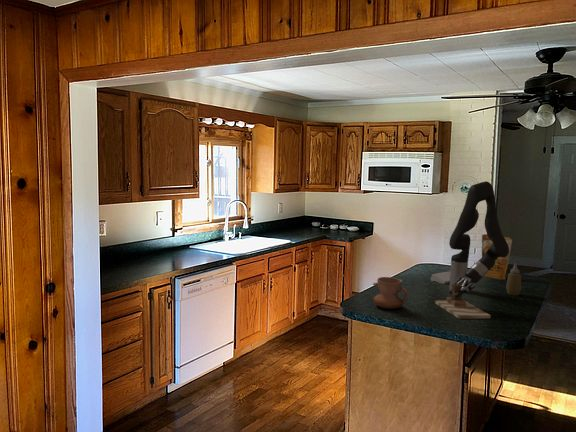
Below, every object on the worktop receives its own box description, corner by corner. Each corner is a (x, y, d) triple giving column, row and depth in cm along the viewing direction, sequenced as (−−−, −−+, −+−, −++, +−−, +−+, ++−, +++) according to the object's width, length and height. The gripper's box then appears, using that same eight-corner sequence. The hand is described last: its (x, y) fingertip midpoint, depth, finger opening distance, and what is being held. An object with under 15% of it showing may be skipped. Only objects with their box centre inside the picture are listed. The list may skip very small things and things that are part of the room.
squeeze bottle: (506, 291, 287) (508, 261, 285) (521, 294, 283) (524, 263, 281) (504, 294, 280) (507, 263, 278) (520, 297, 276) (522, 265, 274)
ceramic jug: (366, 307, 246) (368, 279, 244) (377, 300, 258) (379, 274, 256) (400, 314, 237) (403, 286, 235) (410, 307, 249) (413, 280, 247)
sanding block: (446, 301, 256) (447, 282, 255) (457, 301, 256) (458, 282, 255) (454, 306, 247) (455, 287, 246) (465, 306, 248) (467, 287, 247)
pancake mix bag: (480, 274, 334) (483, 233, 331) (509, 279, 321) (513, 237, 318) (476, 275, 329) (479, 234, 326) (506, 280, 316) (509, 237, 313)
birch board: (435, 303, 257) (435, 300, 257) (463, 302, 260) (463, 300, 260) (459, 318, 232) (459, 315, 232) (490, 318, 234) (490, 315, 234)
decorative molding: (474, 282, 323) (461, 275, 330) (476, 275, 321) (464, 268, 329) (442, 288, 302) (430, 280, 310) (445, 281, 301) (432, 274, 308)
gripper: (465, 264, 258) (442, 286, 257) (479, 270, 244) (455, 293, 243) (473, 274, 259) (451, 296, 259) (488, 280, 245) (464, 304, 244)
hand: (453, 295), depth 251 cm, fingers open, 5 cm apart
